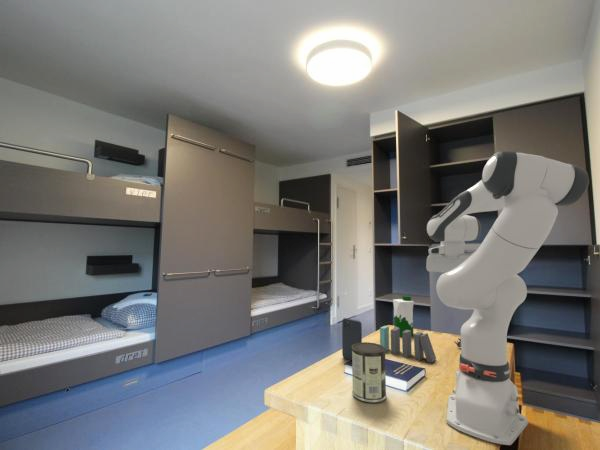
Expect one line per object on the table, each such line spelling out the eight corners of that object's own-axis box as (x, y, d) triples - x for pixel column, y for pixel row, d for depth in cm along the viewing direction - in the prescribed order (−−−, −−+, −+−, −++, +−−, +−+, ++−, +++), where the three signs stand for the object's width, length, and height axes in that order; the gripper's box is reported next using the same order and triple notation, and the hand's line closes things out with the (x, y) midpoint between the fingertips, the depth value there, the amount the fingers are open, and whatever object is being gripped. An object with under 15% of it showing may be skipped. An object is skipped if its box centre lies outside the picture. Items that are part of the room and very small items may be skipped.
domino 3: (411, 354, 125) (411, 330, 126) (407, 357, 121) (406, 333, 122) (406, 353, 126) (406, 329, 127) (402, 356, 123) (402, 332, 123)
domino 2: (400, 351, 128) (399, 328, 129) (395, 354, 125) (395, 330, 125) (395, 350, 130) (395, 327, 130) (391, 353, 126) (390, 329, 127)
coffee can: (369, 383, 98) (369, 340, 99) (393, 397, 89) (392, 349, 90) (345, 390, 93) (344, 344, 94) (367, 406, 84) (367, 355, 85)
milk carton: (416, 337, 149) (415, 297, 151) (400, 338, 148) (399, 298, 149) (407, 332, 158) (406, 294, 160) (391, 333, 156) (390, 295, 158)
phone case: (341, 357, 121) (341, 318, 122) (343, 356, 122) (343, 317, 123) (360, 363, 114) (359, 321, 116) (362, 362, 116) (362, 321, 117)
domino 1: (380, 351, 129) (379, 327, 130) (384, 348, 133) (384, 325, 134) (384, 352, 128) (384, 328, 128) (389, 349, 132) (388, 326, 132)
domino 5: (436, 358, 119) (427, 333, 122) (432, 362, 115) (423, 335, 118) (431, 359, 120) (422, 333, 123) (427, 362, 116) (418, 336, 119)
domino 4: (423, 357, 122) (422, 332, 123) (419, 360, 118) (418, 335, 119) (418, 356, 123) (417, 331, 124) (414, 359, 119) (413, 334, 120)
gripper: (483, 250, 115) (485, 285, 114) (429, 249, 128) (430, 281, 127) (481, 249, 110) (482, 287, 109) (424, 249, 123) (425, 283, 122)
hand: (454, 284), depth 118 cm, fingers closed
